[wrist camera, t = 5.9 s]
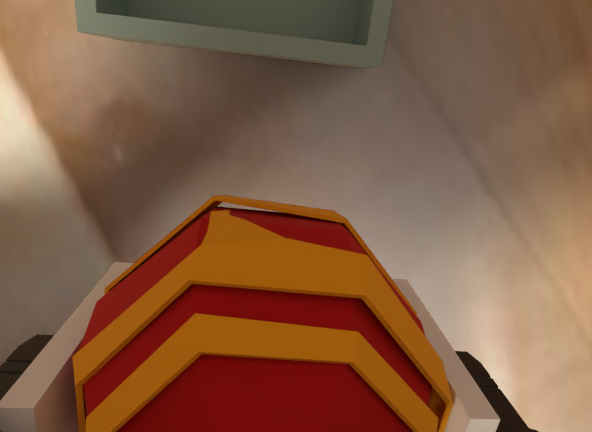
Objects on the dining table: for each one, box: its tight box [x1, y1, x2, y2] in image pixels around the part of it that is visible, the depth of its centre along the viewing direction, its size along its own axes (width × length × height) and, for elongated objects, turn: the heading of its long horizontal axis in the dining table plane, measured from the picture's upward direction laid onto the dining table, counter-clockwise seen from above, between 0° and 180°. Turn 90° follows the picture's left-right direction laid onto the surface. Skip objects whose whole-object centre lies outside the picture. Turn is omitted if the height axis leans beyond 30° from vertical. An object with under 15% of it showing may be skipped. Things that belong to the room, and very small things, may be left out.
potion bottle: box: [72, 195, 453, 432], centre depth 10 cm, size 10×10×15 cm
